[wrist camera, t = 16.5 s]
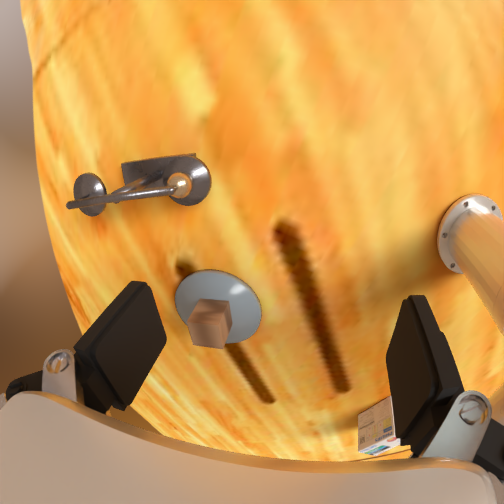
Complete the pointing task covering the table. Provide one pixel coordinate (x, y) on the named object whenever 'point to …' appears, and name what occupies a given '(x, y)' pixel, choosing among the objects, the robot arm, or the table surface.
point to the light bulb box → (377, 429)
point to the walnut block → (210, 323)
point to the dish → (221, 288)
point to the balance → (146, 183)
